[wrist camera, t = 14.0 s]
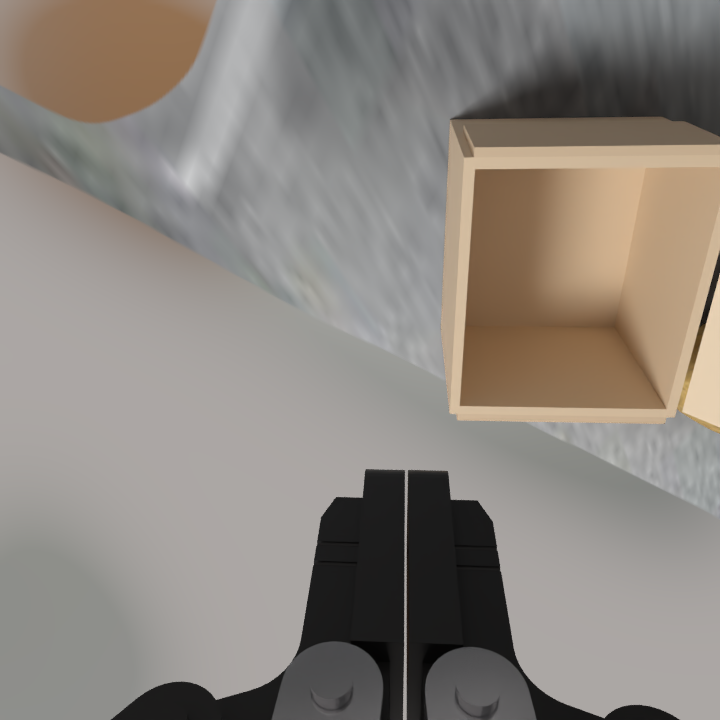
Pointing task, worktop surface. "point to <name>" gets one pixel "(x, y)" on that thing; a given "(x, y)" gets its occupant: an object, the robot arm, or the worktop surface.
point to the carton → (576, 266)
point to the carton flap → (707, 370)
